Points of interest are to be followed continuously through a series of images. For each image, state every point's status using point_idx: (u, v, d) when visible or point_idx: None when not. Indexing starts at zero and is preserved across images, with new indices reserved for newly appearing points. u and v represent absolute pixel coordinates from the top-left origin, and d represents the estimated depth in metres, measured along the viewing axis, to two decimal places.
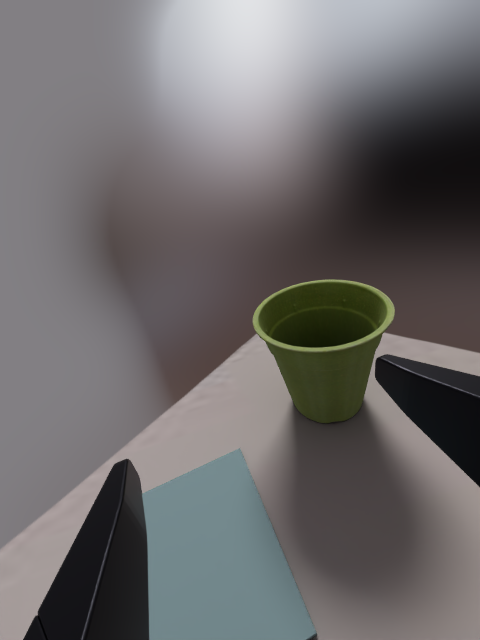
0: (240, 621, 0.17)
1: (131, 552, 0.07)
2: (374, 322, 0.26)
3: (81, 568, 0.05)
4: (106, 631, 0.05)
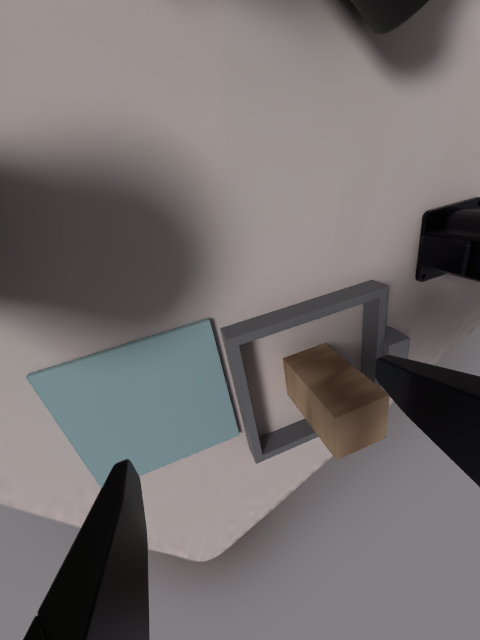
0: (195, 369, 0.23)
1: (131, 552, 0.07)
2: None
3: (81, 568, 0.05)
4: (106, 631, 0.05)
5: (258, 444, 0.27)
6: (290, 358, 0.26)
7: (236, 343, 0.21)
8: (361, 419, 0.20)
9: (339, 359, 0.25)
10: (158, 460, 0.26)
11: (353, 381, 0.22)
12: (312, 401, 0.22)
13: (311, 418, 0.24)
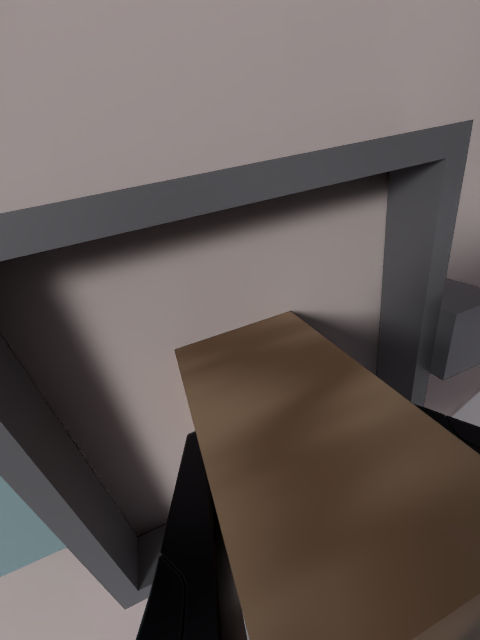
0: None
1: None
2: None
3: (189, 517, 0.06)
4: (222, 570, 0.05)
5: (117, 573, 0.10)
6: (192, 349, 0.10)
7: None
8: None
9: (324, 350, 0.08)
10: None
11: (371, 430, 0.06)
12: None
13: None
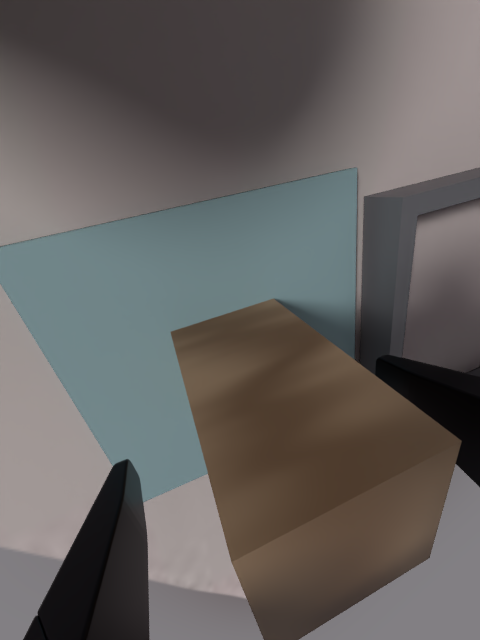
0: (315, 276, 0.12)
1: (131, 552, 0.07)
2: None
3: (81, 568, 0.05)
4: (106, 631, 0.05)
5: None
6: (186, 331, 0.11)
7: (415, 210, 0.11)
8: (353, 536, 0.05)
9: (298, 328, 0.10)
10: None
11: (326, 385, 0.07)
12: None
13: None
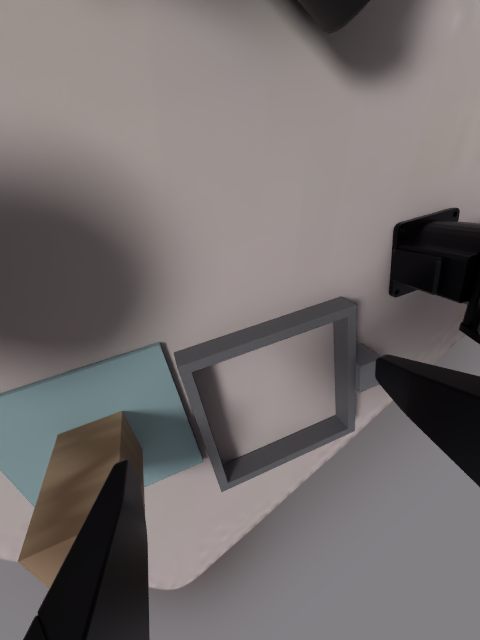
0: (148, 396, 0.21)
1: (131, 552, 0.07)
2: None
3: (81, 568, 0.05)
4: (106, 631, 0.05)
5: (222, 472, 0.25)
6: (65, 435, 0.20)
7: (188, 370, 0.20)
8: None
9: (114, 441, 0.18)
10: None
11: (97, 484, 0.16)
12: None
13: None
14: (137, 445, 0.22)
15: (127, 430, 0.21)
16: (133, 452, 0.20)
